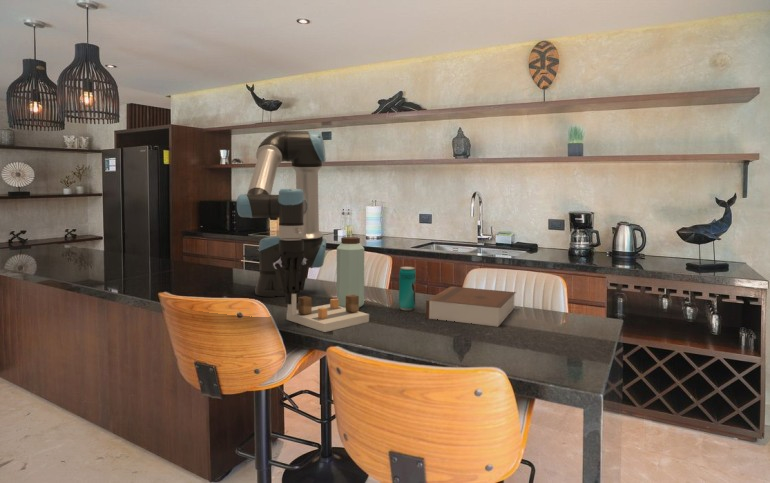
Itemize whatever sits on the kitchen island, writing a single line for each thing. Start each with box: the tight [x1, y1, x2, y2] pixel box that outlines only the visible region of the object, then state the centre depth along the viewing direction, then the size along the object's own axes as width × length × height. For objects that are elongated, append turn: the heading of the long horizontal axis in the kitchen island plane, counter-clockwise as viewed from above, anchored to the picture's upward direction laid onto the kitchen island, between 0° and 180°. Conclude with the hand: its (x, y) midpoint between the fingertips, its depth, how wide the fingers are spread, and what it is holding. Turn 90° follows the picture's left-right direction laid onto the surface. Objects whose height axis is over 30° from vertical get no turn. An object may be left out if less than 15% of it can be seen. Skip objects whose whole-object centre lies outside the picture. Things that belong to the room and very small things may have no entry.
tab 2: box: [346, 295, 360, 312], centre depth 167 cm, size 3×3×5 cm
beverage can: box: [398, 266, 417, 312], centre depth 182 cm, size 6×6×15 cm
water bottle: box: [336, 236, 365, 308], centre depth 185 cm, size 10×10×25 cm
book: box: [425, 285, 517, 327], centre depth 178 cm, size 24×28×6 cm
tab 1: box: [297, 295, 313, 314], centre depth 164 cm, size 3×3×5 cm
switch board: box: [286, 298, 370, 333], centre depth 165 cm, size 20×18×6 cm
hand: (292, 313), depth 161 cm, fingers closed
